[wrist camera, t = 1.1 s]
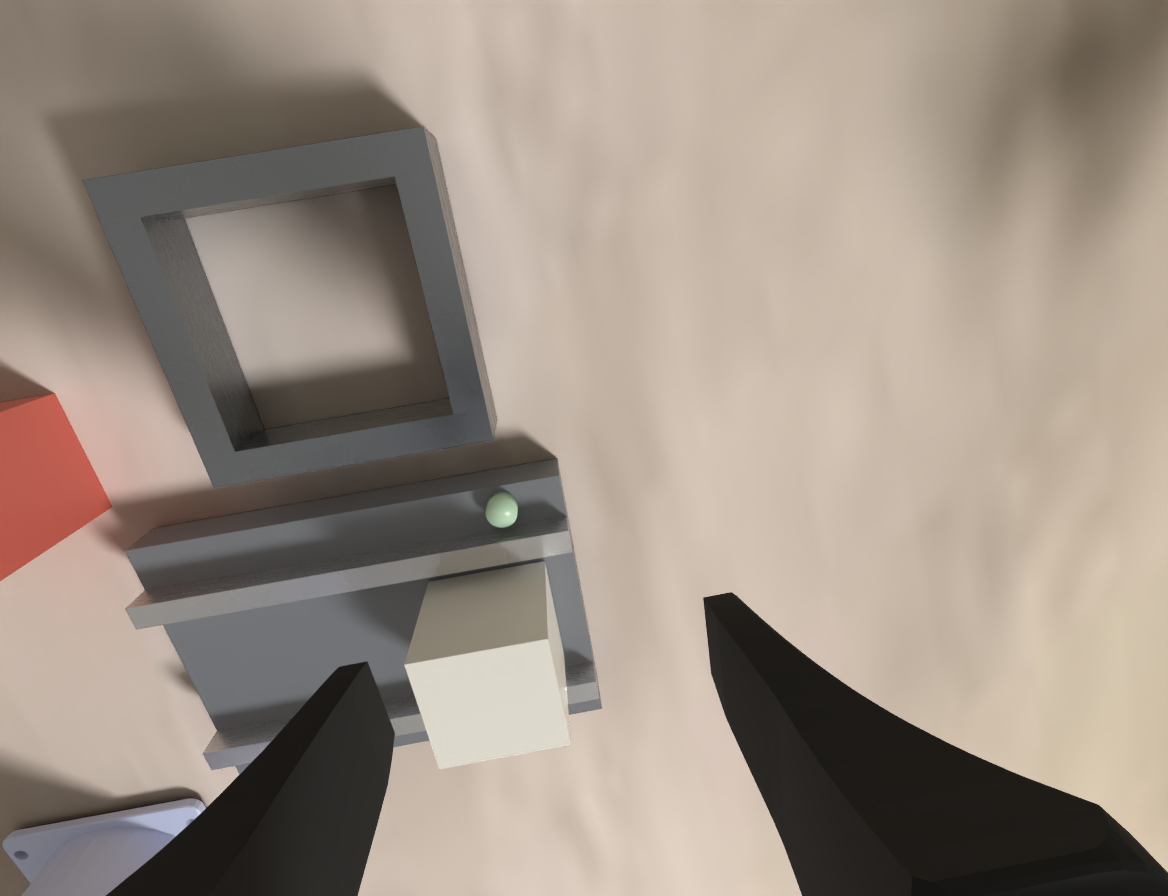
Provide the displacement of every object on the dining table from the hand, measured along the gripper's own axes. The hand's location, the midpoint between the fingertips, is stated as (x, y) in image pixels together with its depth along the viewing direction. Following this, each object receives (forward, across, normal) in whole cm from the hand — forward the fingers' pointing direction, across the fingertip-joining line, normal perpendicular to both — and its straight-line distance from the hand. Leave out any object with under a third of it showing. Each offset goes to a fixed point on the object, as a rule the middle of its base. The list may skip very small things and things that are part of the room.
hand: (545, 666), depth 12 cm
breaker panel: (+9, +6, +4) cm, 12 cm away
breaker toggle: (+7, +2, +4) cm, 9 cm away
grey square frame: (+9, +5, -7) cm, 12 cm away
